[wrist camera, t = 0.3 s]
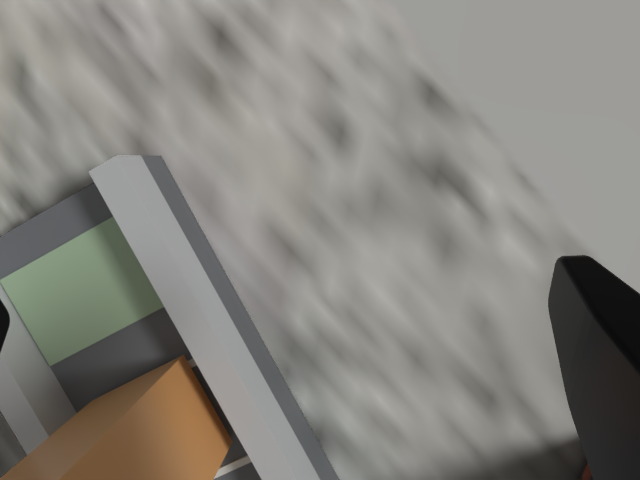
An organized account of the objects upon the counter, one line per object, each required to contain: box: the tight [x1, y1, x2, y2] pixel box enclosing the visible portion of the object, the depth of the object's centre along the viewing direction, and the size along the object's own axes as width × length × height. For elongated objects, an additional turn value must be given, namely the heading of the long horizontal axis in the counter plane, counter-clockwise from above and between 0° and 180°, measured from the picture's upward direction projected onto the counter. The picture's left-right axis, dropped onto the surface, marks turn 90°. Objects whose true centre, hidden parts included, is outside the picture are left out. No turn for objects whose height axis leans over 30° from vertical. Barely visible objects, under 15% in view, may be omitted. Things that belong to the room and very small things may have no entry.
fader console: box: [0, 155, 339, 480], centre depth 23 cm, size 19×9×4 cm, turn 28°
